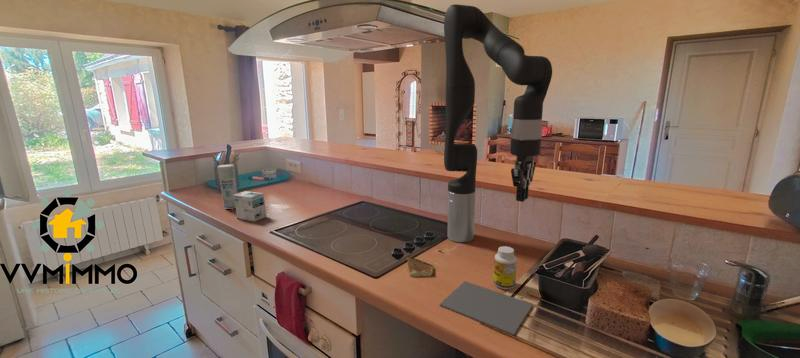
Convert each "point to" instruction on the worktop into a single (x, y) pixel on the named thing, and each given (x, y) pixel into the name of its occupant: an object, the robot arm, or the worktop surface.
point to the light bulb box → (250, 206)
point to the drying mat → (488, 307)
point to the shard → (419, 267)
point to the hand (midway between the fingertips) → (521, 199)
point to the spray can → (227, 185)
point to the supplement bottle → (505, 268)
